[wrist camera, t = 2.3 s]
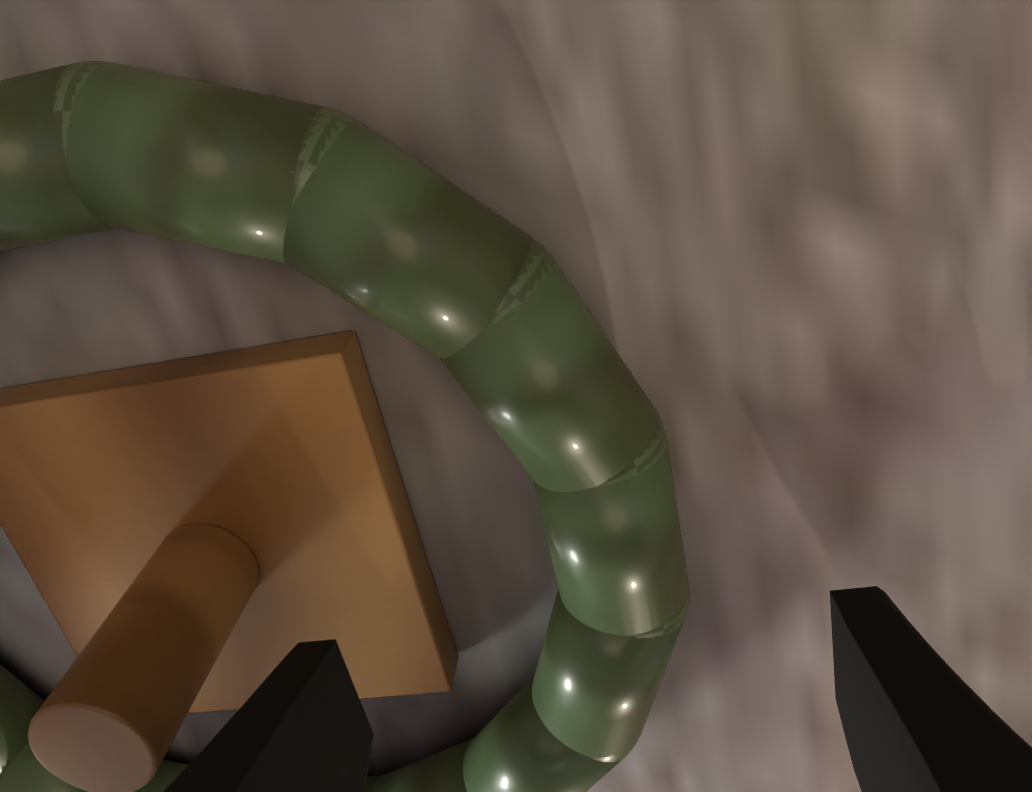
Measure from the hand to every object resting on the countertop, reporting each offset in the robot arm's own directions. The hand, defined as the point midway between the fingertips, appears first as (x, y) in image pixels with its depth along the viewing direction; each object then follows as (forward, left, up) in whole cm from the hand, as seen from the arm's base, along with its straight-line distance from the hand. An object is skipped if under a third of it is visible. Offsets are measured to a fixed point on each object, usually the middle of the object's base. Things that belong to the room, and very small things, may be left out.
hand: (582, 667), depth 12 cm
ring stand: (-8, 0, -5) cm, 9 cm away
